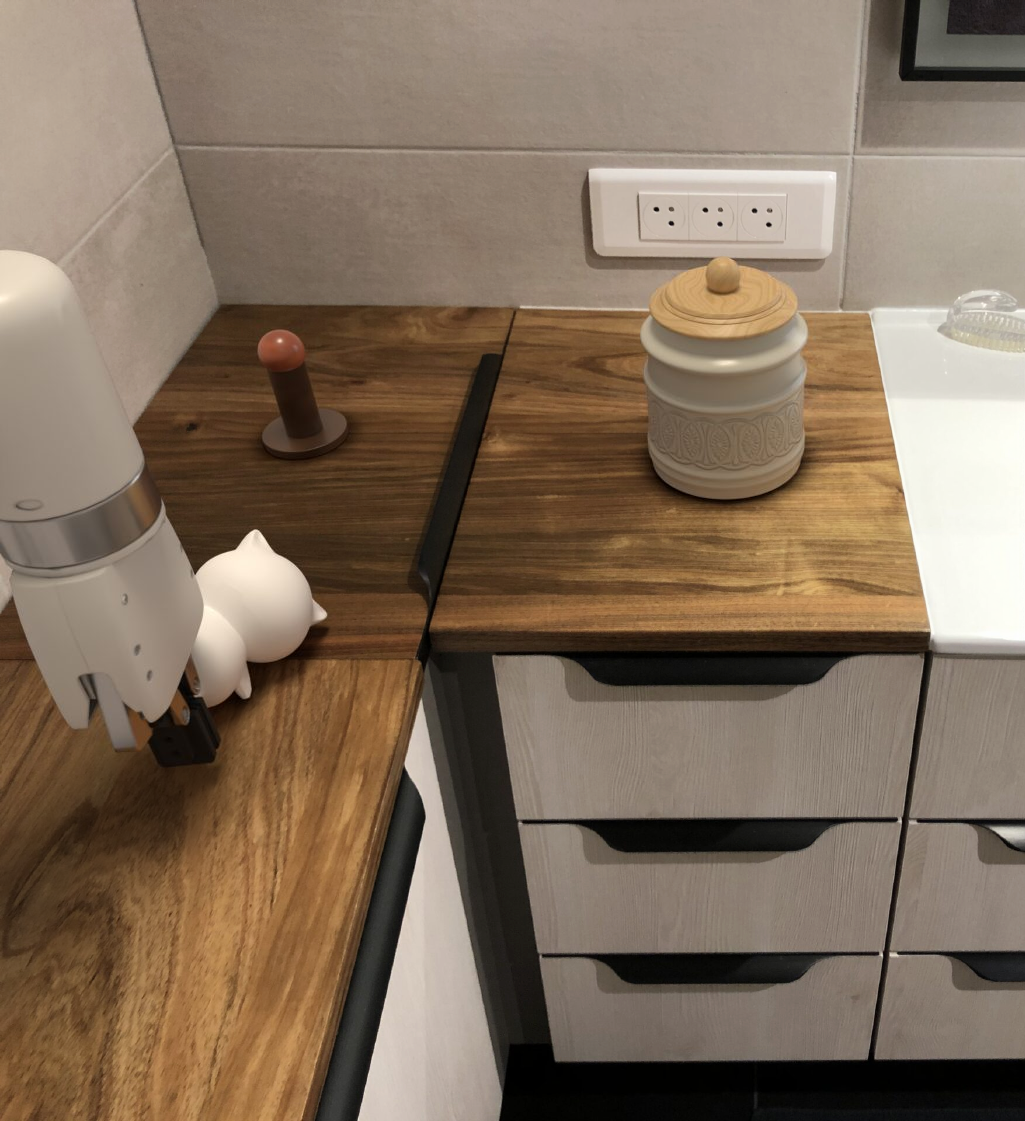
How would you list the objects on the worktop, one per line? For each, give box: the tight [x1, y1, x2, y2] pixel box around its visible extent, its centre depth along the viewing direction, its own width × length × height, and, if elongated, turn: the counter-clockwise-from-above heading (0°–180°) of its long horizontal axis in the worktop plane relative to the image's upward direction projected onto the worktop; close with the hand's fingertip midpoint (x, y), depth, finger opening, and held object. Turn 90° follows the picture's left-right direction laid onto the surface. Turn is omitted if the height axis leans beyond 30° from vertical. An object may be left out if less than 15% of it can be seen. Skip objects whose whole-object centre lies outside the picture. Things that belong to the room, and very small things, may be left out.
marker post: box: [257, 329, 350, 460], centre depth 94 cm, size 7×7×10 cm
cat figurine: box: [191, 529, 328, 709], centre depth 73 cm, size 9×11×12 cm
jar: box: [639, 256, 809, 500], centre depth 89 cm, size 13×13×18 cm
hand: (191, 754), depth 67 cm, fingers closed
